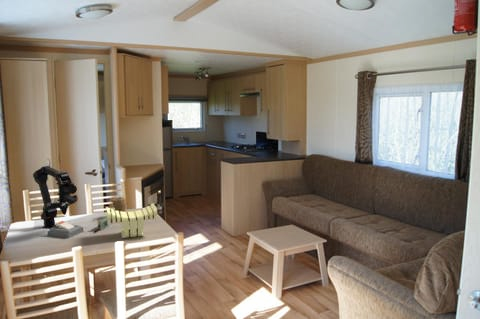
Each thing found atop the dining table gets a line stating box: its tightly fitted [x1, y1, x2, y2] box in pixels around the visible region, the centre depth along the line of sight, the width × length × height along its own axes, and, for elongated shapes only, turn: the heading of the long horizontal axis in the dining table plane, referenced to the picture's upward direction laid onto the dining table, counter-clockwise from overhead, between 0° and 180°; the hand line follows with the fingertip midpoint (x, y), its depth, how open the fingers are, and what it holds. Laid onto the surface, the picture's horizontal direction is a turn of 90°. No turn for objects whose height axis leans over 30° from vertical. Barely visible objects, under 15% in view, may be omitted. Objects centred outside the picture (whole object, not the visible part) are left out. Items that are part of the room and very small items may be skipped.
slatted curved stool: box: [105, 202, 158, 239], centre depth 258 cm, size 30×16×18 cm, turn 110°
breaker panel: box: [47, 224, 84, 239], centre depth 261 cm, size 16×14×4 cm
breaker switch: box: [55, 220, 75, 230], centre depth 261 cm, size 10×6×1 cm, turn 74°
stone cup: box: [111, 196, 129, 218], centre depth 297 cm, size 15×12×15 cm
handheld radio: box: [94, 213, 113, 233], centre depth 274 cm, size 7×3×25 cm
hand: (64, 214), depth 265 cm, fingers closed
